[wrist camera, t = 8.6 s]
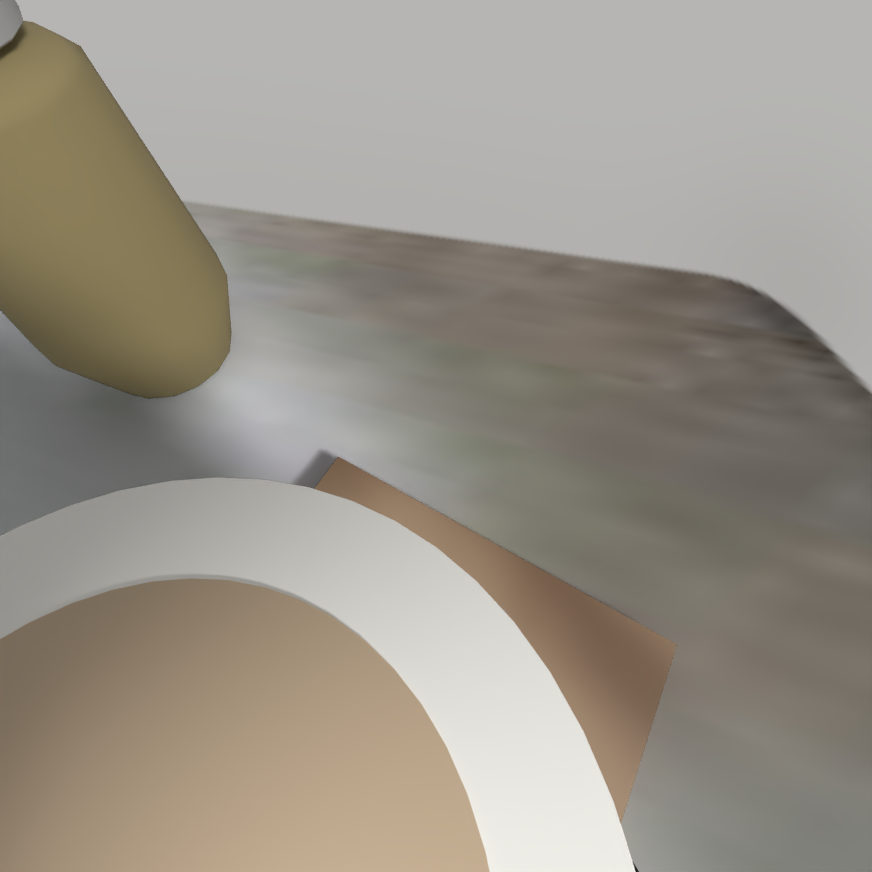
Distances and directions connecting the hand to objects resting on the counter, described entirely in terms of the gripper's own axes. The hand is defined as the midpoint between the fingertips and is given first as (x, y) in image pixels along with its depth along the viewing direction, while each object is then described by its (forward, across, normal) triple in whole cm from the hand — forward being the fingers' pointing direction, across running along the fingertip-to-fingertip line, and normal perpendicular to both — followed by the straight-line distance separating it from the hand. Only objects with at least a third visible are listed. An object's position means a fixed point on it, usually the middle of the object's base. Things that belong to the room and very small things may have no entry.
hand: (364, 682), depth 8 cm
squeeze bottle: (+16, +14, -2) cm, 21 cm away
